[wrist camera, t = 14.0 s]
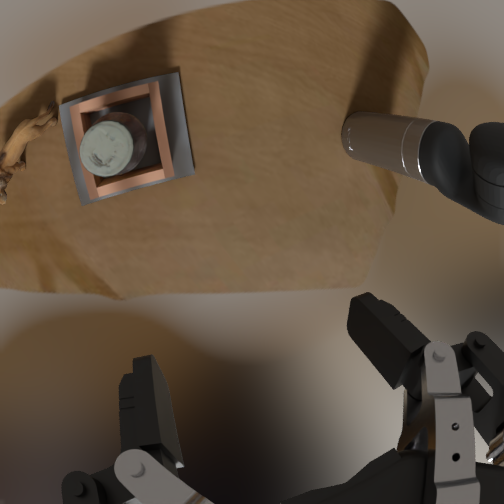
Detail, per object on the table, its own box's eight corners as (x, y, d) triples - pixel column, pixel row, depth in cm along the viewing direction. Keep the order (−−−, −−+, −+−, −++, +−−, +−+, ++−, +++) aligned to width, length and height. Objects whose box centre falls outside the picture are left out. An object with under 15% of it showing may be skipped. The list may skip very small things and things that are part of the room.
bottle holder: (177, 73, 32) (182, 64, 27) (193, 173, 40) (201, 182, 34) (61, 106, 28) (45, 104, 23) (83, 204, 36) (72, 218, 30)
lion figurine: (20, 197, 31) (-6, 216, 24) (-3, 180, 28) (-32, 196, 21) (66, 109, 29) (45, 106, 21) (42, 92, 26) (16, 87, 19)
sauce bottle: (109, 167, 34) (73, 210, 17) (97, 125, 31) (47, 130, 14) (153, 151, 35) (155, 178, 19) (142, 108, 32) (132, 94, 15)
